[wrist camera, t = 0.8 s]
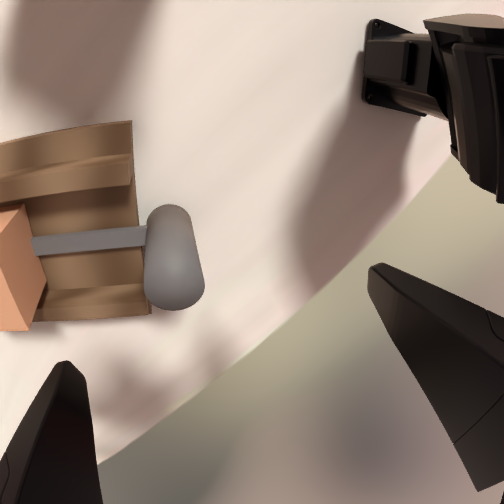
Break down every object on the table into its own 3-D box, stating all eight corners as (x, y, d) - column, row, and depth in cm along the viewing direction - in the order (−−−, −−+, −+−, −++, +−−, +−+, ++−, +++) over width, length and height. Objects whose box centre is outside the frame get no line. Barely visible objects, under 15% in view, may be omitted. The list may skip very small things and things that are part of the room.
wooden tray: (131, 120, 16) (125, 128, 14) (151, 304, 23) (152, 332, 21) (-58, 161, 12) (-81, 176, 10) (-6, 314, 20) (-16, 338, 17)
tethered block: (190, 180, 19) (203, 230, 13) (192, 261, 22) (206, 327, 17) (-34, 210, 14) (-79, 261, 9) (-11, 278, 18) (-40, 337, 12)
